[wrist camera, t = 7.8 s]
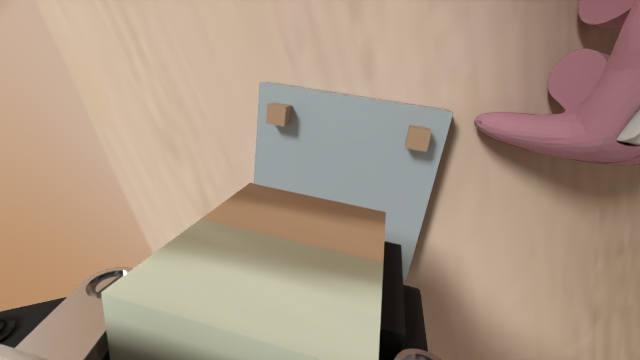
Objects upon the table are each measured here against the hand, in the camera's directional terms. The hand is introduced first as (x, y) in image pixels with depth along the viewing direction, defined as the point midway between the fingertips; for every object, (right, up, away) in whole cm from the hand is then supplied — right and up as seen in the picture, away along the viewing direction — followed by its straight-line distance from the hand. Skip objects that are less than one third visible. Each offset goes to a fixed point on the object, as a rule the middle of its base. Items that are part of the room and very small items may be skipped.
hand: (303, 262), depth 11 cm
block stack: (0, 0, 0) cm, 0 cm away
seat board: (+2, +3, +8) cm, 8 cm away
